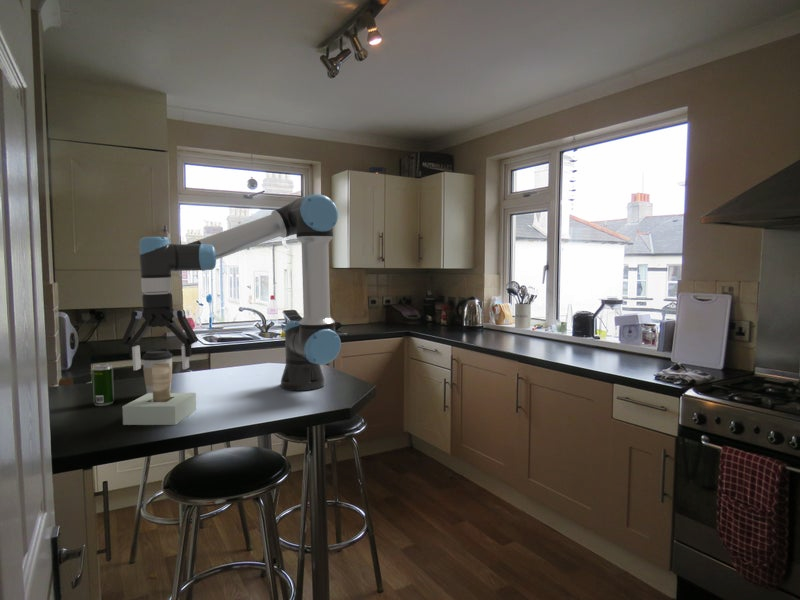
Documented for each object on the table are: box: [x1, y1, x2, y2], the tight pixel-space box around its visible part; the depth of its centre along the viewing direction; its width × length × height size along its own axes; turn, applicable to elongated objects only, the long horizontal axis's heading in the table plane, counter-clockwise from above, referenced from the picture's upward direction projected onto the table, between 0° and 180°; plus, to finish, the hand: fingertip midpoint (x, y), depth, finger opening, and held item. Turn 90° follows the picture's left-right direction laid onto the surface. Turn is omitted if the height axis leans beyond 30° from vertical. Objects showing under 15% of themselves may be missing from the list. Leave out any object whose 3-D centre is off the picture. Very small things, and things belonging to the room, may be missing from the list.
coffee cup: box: [141, 347, 173, 394], centre depth 164 cm, size 9×9×15 cm
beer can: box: [91, 363, 115, 407], centre depth 155 cm, size 5×5×12 cm
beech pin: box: [152, 363, 171, 402], centre depth 142 cm, size 4×4×14 cm
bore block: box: [121, 392, 197, 426], centre depth 142 cm, size 14×14×5 cm
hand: (161, 368), depth 141 cm, fingers open, 13 cm apart
